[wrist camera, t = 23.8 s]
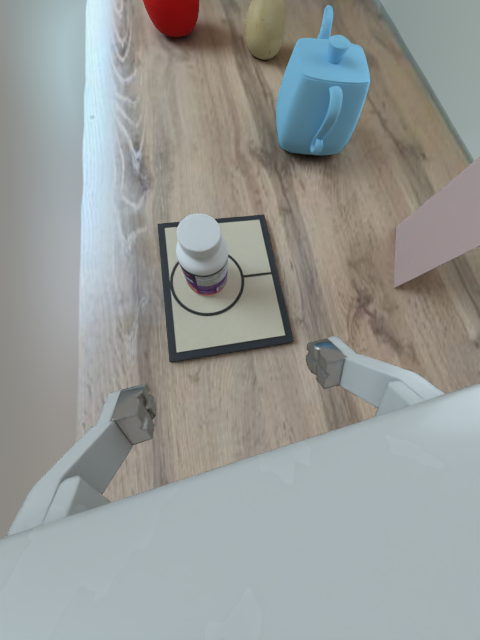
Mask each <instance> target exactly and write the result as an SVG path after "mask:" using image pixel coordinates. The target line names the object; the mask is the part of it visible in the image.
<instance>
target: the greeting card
mask: <svg viewBox="0 0 480 640" xmlns="http://www.w3.org/2000/svg"><path fill="white" fill-rule="evenodd" d="M479 246H480V157H479V158H477V159H476V160H475V161H474V162H473V163H471V164H470V165H469V166H468V167H467V168H466V169H464V170H463V171H462V172H461V173H460V174H458V175H457V176H456V177H455V178H454V179H452V180H451V181H450V182H449V183H448V184H447V185H445V186H444V187H443V188H442V189H441V190H439V191H438V192H437V193H436V194H435V195H433V196H432V197H431V198H430V199H429V200H428V201H426V202H425V203H424V204H423V205H422V206H420V207H419V208H418V209H417V210H416V211H414V212H413V213H412V214H411V215H410V216H409V217H407V218H406V219H405V220H404V221H403V222H401V223H400V224H399V225H398V226H397V227H396V249H395V274H394V288H396V287H398V286H400V285H402V284H404V283H406V282H408V281H410V280H412V279H414V278H416V277H418V276H420V275H422V274H424V273H426V272H428V271H430V270H432V269H434V268H436V267H438V266H440V265H442V264H444V263H446V262H448V261H450V260H452V259H454V258H456V257H458V256H460V255H462V254H464V253H466V252H468V251H470V250H472V249H474V248H476V247H479Z"/></svg>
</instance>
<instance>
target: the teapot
mask: <svg viewBox="0 0 480 640" xmlns="http://www.w3.org/2000/svg"><path fill="white" fill-rule="evenodd" d="M332 21H333V9H332V7H331V6H330V5H327V6H326V8H325V10H324V15H323V21H322V25H321V29H320V32H319V36H318V38H302V39H299V40H298V41H297V43H296V45H295V47H294V50H293V52H292V55H291V57H290V60H289V62H288V65H287V68H286V71H285V73H284V76H283V80H282V83H281V86H280V90H279V94H278V98H277V105H276V125H277V135H278V142H279V146H280V148H282V149H283V150H286V151H288V152H290V153H301V154H308V155H321V156H324V155H332V154H337V153H339V152H340V151H341V150H342V149H343V148H344V147H345V146H346V144H347V143H348V141H349V139H350V138H351V136H352V133H353V131H354V129H355V127H356V124H357V122H358V119H359V117H360V114H361V111H362V108H363V105H364V102H365V98H366V95H367V92H368V88H369V84H370V75H369V69H368V65H367V61H366V57H365V54H364V51H363V49H362V47H360V46H358V45H355V44H352V43H350V42H349V40H348V39H347V38H346V37H344V36H341V35H334V36H331V37H330V34H331V28H332Z"/></svg>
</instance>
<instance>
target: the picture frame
mask: <svg viewBox="0 0 480 640" xmlns="http://www.w3.org/2000/svg"><path fill="white" fill-rule="evenodd" d="M215 220H216V221H217V223H218V224H219V226H220V229H221V235H222V236H223V238H224V239H225V241H226V243H227V246H228V275H227V283H226V286H225V287H224V289H223V290H222V291H221V292H220V293H218V294H217V295H214V296H210V297H204V296H200V295H198V294H196V293H194V292H193V291H192V290H191V288H190V287H189V285H188V283H187V281H186V278H185V276H184V274H183V271H182V269H181V266H180V264H179V261H178V259H177V255H176V246H177V242H178V238H177V227H178V225H179V223H180V222H174V223H163V224H158V234H159V245H160V257H161V269H162V280H163V292H164V303H165V315H166V326H167V338H168V349H169V361H170V362H177V361H183V360H189V359H195V358H201V357H207V356H213V355H219V354H225V353H231V352H237V351H243V350H250V349H256V348H262V347H268V346H274V345H280V344H286V343H292V342H294V341H293V337H292V332H291V328H290V324H289V320H288V315H287V311H286V307H285V302H284V298H283V294H282V290H281V285H280V281H279V277H278V273H277V268H276V264H275V260H274V255H273V251H272V247H271V243H270V238H269V234H268V230H267V225H266V221H265V217H264V215H255V216H244V217H232V218H221V219H215Z"/></svg>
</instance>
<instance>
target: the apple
mask: <svg viewBox="0 0 480 640" xmlns="http://www.w3.org/2000/svg"><path fill="white" fill-rule="evenodd" d="M285 31H286V8H285V4H284V1H283V0H252V2H251V4H250V6H249V9H248V12H247V17H246V24H245V36H246V43H247V47H248V49H249V51H250V52H251V54H252V55H253V56H255V57H257V58H259V59H262V60H267V59H270V58H272V57H274V56H275V55H276V54H277V53H278V52H279V50H280V48H281V46H282V44H283V41H284V37H285Z"/></svg>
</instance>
